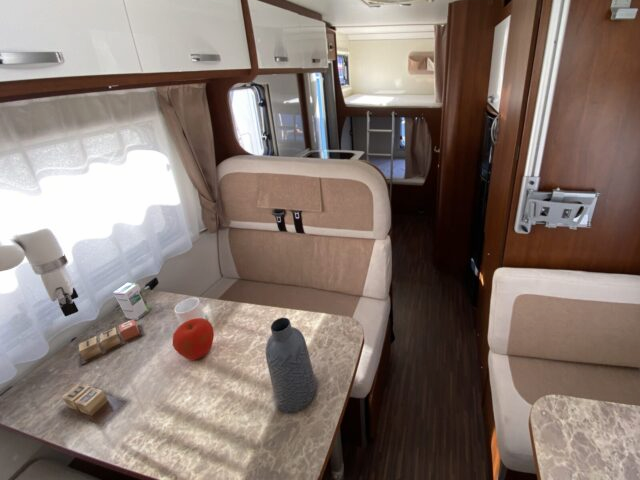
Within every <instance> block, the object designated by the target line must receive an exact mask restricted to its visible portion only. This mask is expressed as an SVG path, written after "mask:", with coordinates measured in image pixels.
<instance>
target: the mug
mask: <svg viewBox="0 0 640 480" xmlns="http://www.w3.org/2000/svg"><path fill="white" fill-rule="evenodd" d="M173 311H174V313H175V316H176V318H177V320H178V323H179V326H180V325H182V324H183V323H184V322H186V321H188V320H191V319H195V318H203V319H206V320H207V318H206V315H205V312H204V310H203V307H202V304H201V302H200V299H199V298H198V297H189V298H186V299H183V300H181V301H179V303H177V304H176V305H175V307H174V310H173Z"/></svg>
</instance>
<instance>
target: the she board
mask: <svg viewBox="0 0 640 480" xmlns="http://www.w3.org/2000/svg"><path fill="white" fill-rule="evenodd" d="M61 399H62V400H63V401H64V403H65V405H66V406H65V408H63V409H62V412H64V413H65V414H66V413H67V414H69V415H72V416H75V417H77V418H79V419H82V420H85V421H87V422H90V423H92V424H95V425H98V426H101V427H104V426H105V424H107V422H109V421H110V420H111V419H112V418H113V417H114V416H115V415H116V414H117V413H118V412H119V411H120V410H121V409H122V408H123V407H124V406H125V405H126V404H127V403H128V401H127V400H124V399H120V398H118V397H115V396H112V395H109V394H107V393H104V391H103V390H101V389H98V388H95V387H94V386H93V387H91V386H90V385H86V384H84V383H81V382H79V383H77V384H76V385H75V386H74V387H73V388H71V389H70V390H69V391H68V392H66V393H65V394H64V395H63V396H62V397H61Z"/></svg>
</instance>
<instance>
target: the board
mask: <svg viewBox="0 0 640 480" xmlns="http://www.w3.org/2000/svg"><path fill="white" fill-rule="evenodd" d="M137 327H138V330H139V334H138V335H136V336H134V337H132V338H129V339H127V340H124V338H123V337H122V335H121V333H119V332H118V330H117V328H116V327H113V328H110V329H108V330H106V331H104V332H102V333H100V334H99V339H98V337H97V336H96V335H95V336H93V337H91V338H89V339H86V340H84V341H82V342H80V343H78V347H79V348H78V352H79V353H80V355H81V365H82V366H84V365H86V364H88V363H90V362H92V361H95V360H96V359H98V358H101V357H103V356H105V355H107V354H108V353H110V352H113V351H115V350H117V349H119V348H121V347H123V346H124V345H126V344H127V343H131V342H133V341H135V340H137V339H140V338H141V337H143V336H144V335H143V332H142V329H141V325H140V324H138V325H137Z"/></svg>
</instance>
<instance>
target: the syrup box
mask: <svg viewBox="0 0 640 480" xmlns="http://www.w3.org/2000/svg"><path fill="white" fill-rule="evenodd" d="M113 295H114V297H115V299H116V300H117V303H118V304H119V307H120V308H121V311H122V312H123V314H124V316H125V318H126V319H129V320H132V319H134V320H135V321H136V320H140V319H141V318H142V317H143V316H145V315H146V314H147V313H148V312H149V311H150V310H151V308H150V307H149V305H148V303H147V300H146V298H145V296H144V293H143V292H142V290H141V287H140V285H139V284H138V283H135V282H126V283H125V284H124V285H122V286H120V287H119V288H118V289H116V290H114V291H113Z"/></svg>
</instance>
